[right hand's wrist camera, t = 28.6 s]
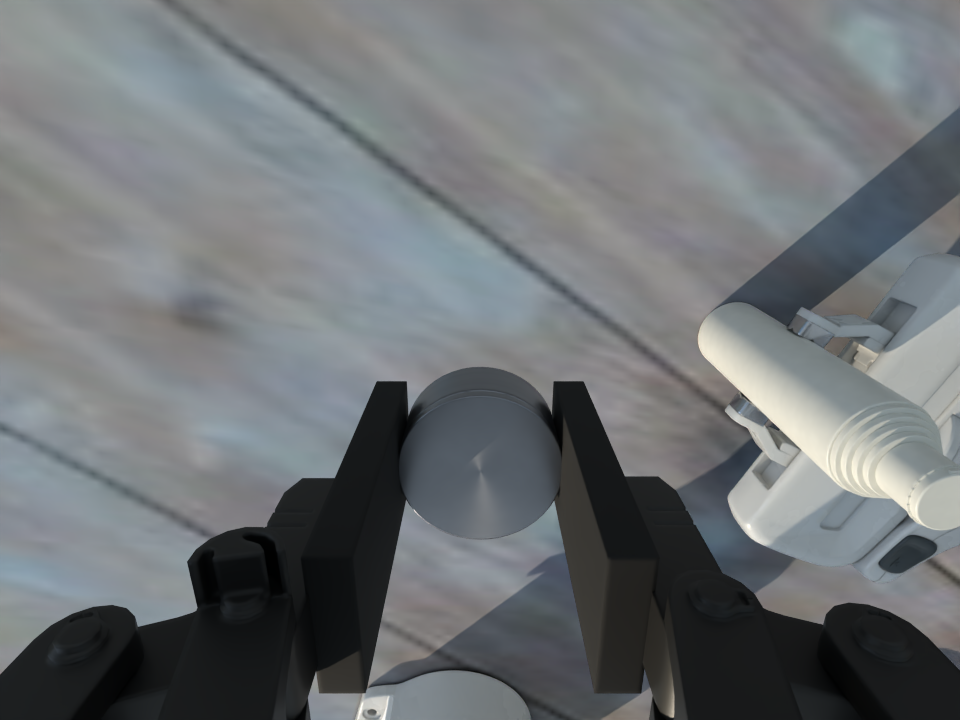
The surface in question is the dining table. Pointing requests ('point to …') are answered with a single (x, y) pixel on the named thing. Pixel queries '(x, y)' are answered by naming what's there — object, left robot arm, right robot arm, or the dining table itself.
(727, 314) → the bottle
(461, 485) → the cap
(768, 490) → the left robot arm
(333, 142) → the dining table surface
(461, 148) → the dining table surface
